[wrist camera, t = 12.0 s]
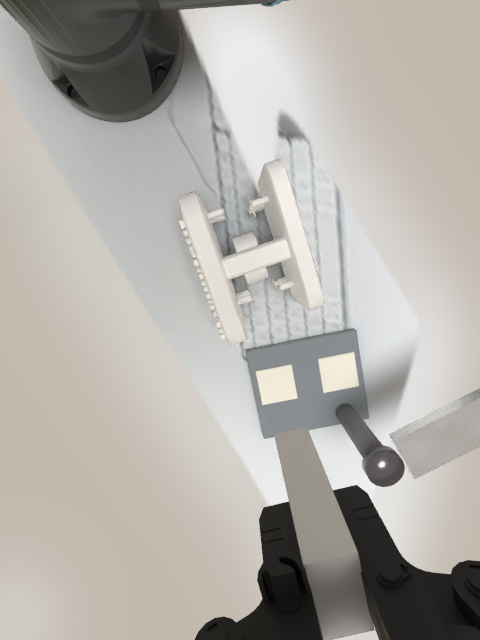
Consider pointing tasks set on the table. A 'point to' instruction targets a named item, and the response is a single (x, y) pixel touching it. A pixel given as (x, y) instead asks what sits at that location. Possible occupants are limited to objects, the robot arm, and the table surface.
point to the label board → (312, 386)
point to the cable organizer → (251, 252)
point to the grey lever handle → (427, 442)
